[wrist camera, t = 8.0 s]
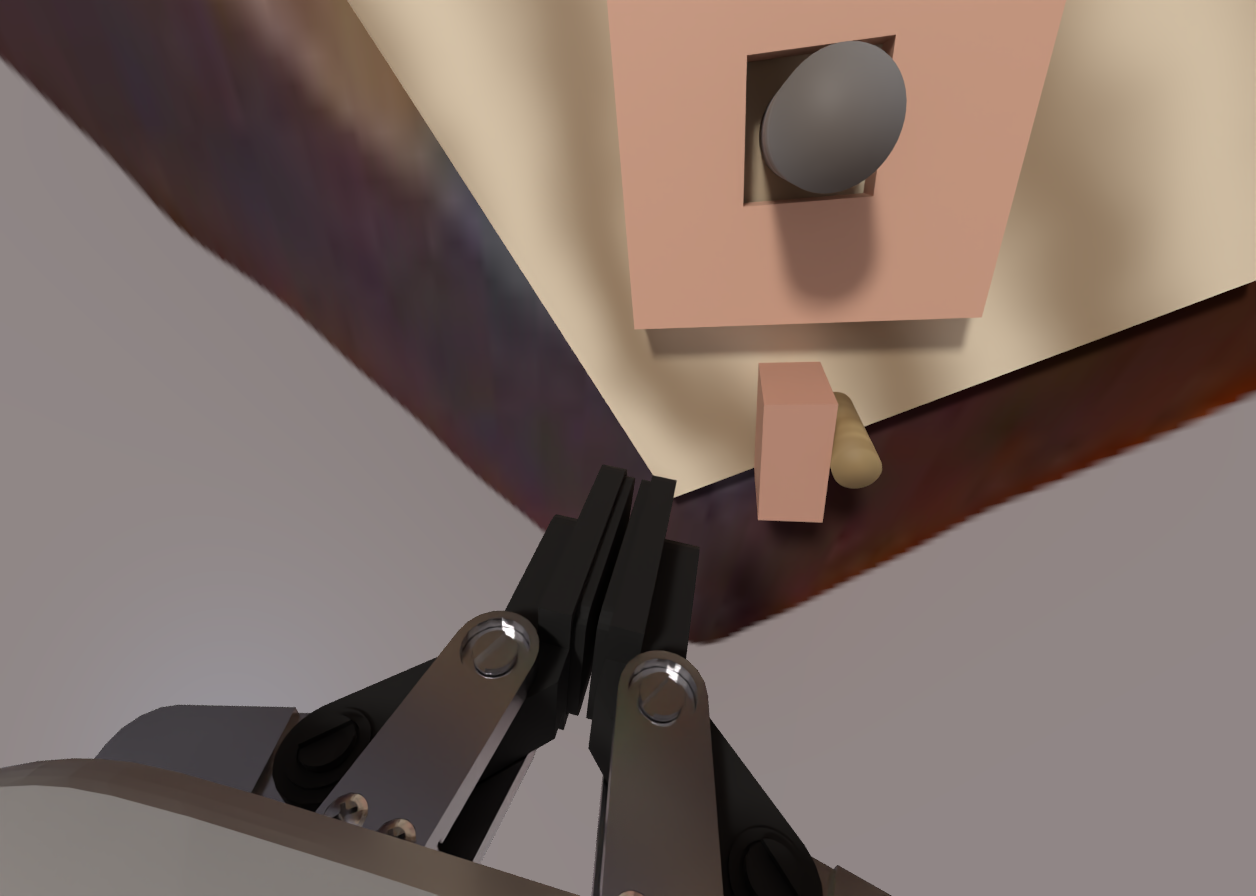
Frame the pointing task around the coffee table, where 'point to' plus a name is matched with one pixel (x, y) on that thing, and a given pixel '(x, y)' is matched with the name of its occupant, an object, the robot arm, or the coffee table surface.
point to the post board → (838, 165)
